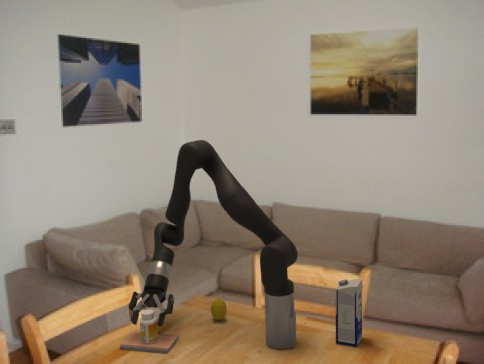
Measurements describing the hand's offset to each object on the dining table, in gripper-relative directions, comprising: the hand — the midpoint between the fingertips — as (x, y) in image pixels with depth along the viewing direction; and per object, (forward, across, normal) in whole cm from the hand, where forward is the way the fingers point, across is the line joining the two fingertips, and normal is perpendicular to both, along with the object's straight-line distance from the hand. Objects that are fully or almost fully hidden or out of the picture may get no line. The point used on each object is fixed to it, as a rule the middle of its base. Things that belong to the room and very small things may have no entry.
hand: (146, 324), depth 174 cm
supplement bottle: (+3, 0, +5) cm, 6 cm away
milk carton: (-5, +62, +15) cm, 64 cm away
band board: (+4, 0, +6) cm, 7 cm away
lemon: (-11, +17, +21) cm, 29 cm away
